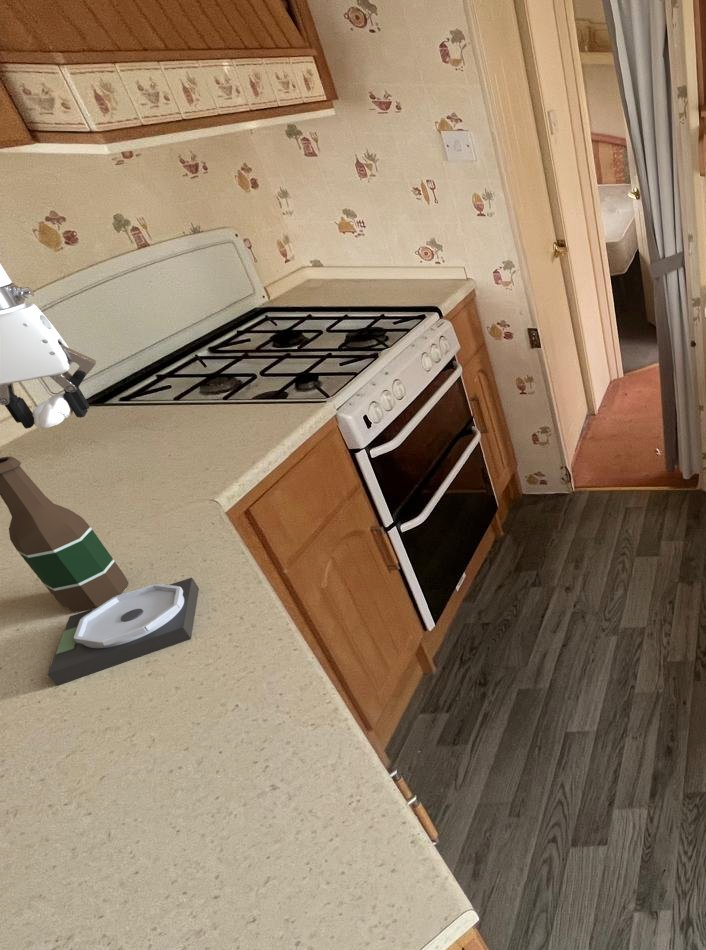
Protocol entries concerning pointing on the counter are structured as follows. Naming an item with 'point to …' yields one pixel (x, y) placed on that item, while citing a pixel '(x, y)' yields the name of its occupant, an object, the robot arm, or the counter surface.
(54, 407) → the dumpling
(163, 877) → the counter surface
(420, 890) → the counter surface
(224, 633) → the counter surface
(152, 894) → the counter surface
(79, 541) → the beer bottle
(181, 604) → the scale
